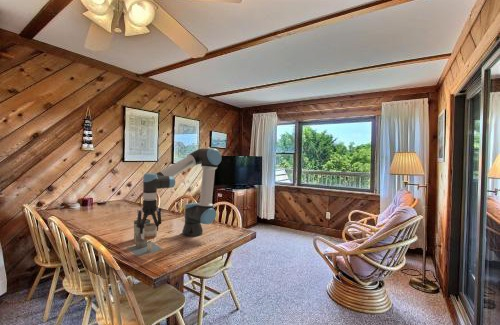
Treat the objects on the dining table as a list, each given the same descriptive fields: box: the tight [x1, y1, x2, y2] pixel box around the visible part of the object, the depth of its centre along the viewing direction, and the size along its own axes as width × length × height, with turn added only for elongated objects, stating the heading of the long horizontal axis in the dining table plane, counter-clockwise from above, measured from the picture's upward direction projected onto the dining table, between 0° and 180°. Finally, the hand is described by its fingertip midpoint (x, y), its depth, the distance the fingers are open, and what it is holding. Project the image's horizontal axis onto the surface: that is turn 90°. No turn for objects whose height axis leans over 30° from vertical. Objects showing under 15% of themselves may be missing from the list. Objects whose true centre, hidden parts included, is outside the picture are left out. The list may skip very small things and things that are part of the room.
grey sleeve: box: [134, 232, 148, 248], centre depth 163 cm, size 7×7×8 cm
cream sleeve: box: [143, 222, 157, 241], centre depth 154 cm, size 7×7×8 cm
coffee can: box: [133, 218, 151, 243], centre depth 175 cm, size 10×10×14 cm
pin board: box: [126, 240, 165, 257], centre depth 158 cm, size 16×18×7 cm
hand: (149, 237), depth 154 cm, fingers closed on cream sleeve, 7 cm apart
